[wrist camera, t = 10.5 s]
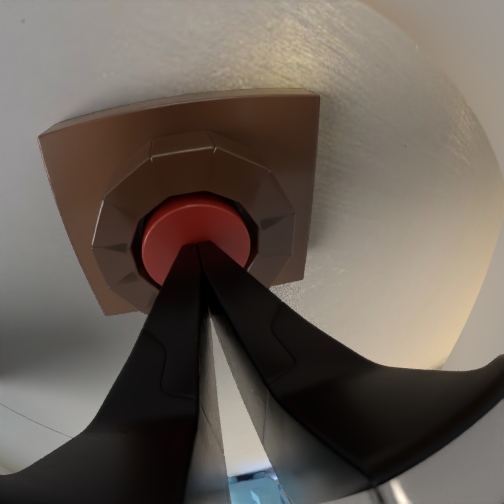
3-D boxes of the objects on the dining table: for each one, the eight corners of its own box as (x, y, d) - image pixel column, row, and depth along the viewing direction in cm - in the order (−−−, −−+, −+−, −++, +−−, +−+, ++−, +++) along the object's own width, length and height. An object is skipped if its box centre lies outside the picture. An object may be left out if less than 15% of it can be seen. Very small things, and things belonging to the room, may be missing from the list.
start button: (235, 171, 9) (250, 196, 8) (239, 252, 11) (252, 284, 10) (134, 188, 9) (129, 216, 7) (154, 267, 10) (155, 302, 9)
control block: (300, 87, 10) (351, 105, 7) (290, 257, 15) (320, 308, 12) (53, 124, 8) (11, 156, 5) (108, 290, 13) (102, 350, 10)
